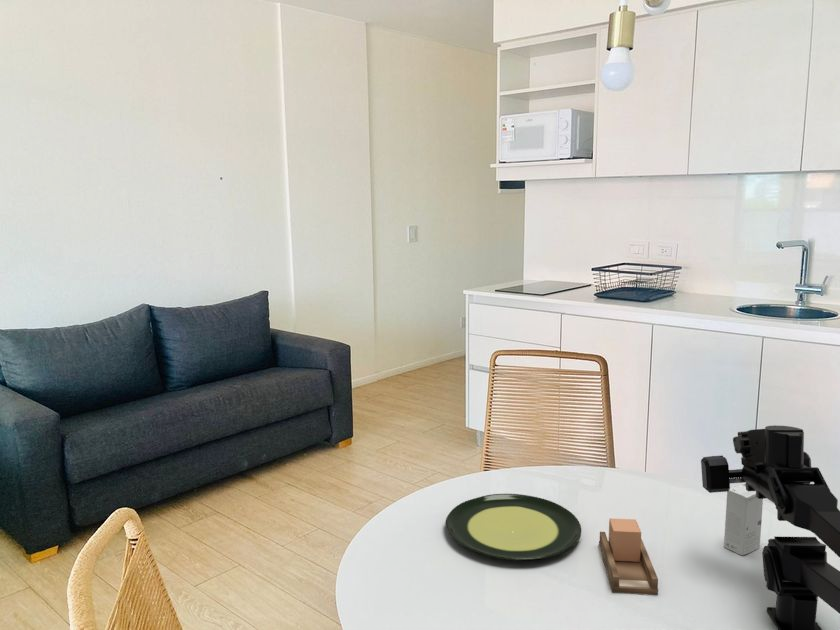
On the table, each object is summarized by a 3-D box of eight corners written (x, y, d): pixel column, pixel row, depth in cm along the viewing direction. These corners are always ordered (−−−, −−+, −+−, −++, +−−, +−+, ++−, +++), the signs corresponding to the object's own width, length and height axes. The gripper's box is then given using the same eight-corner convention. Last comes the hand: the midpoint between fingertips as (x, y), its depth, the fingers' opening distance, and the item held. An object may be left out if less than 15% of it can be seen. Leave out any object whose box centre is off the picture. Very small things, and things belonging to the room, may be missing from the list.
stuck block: (639, 561, 124) (641, 532, 123) (612, 560, 124) (613, 531, 123) (634, 547, 129) (635, 519, 128) (608, 546, 129) (609, 518, 128)
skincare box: (743, 556, 127) (748, 498, 125) (721, 546, 131) (726, 489, 129) (761, 547, 130) (765, 490, 128) (739, 537, 134) (743, 482, 132)
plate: (451, 572, 124) (451, 560, 123) (441, 504, 151) (441, 494, 151) (598, 567, 125) (599, 555, 124) (562, 501, 152) (562, 491, 152)
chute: (657, 594, 115) (658, 579, 115) (612, 592, 116) (612, 576, 116) (639, 547, 131) (639, 533, 131) (598, 545, 132) (599, 531, 132)
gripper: (827, 433, 113) (782, 415, 128) (716, 441, 114) (685, 422, 129) (831, 497, 113) (786, 471, 129) (720, 504, 114) (688, 478, 130)
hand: (736, 459), depth 129 cm, fingers open, 9 cm apart
